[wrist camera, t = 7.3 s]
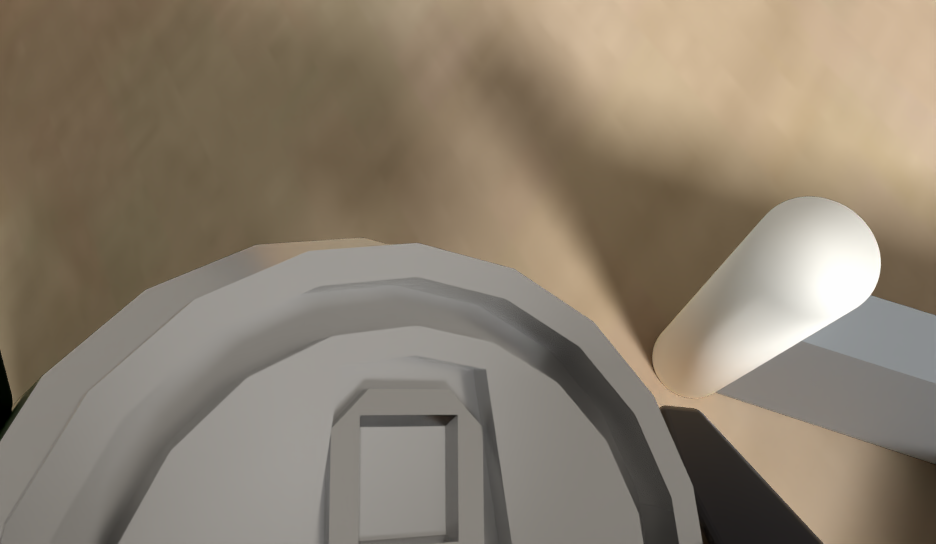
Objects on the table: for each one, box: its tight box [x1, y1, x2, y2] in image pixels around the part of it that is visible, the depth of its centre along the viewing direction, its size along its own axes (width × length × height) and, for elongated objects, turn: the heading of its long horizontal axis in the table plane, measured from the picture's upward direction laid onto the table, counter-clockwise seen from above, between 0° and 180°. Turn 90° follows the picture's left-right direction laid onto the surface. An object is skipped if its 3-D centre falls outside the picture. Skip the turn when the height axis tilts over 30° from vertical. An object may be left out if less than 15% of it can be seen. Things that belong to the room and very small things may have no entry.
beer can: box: [0, 238, 703, 544], centre depth 11 cm, size 5×5×12 cm
